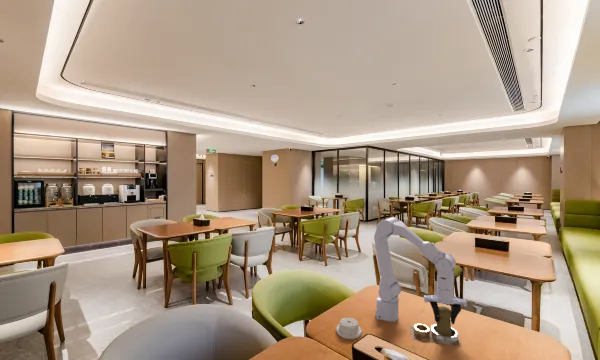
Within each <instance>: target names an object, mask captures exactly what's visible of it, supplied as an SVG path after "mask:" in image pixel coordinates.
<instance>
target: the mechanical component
mask: <svg viewBox="0 0 600 360" xmlns="http://www.w3.org/2000/svg"><path fill="white" fill-rule="evenodd" d="M335 331H336V334H337V335H338V336H339V337H341V338H343V339H345V340H347V339H348V340H355V339H358V338H360V337H361V335H362V334H363V333H362V327H361V326H359V322H358V320H357V319H355V318H353V317H348V316H347V317H343V318H340V320H339V323H338V324H337V325H336V330H335Z"/></svg>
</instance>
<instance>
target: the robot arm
mask: <svg viewBox="0 0 600 360" xmlns="http://www.w3.org/2000/svg"><path fill="white" fill-rule="evenodd" d="M375 227H376V229H375V233H374V236H373V238H374V245H375V250H376V256H377V261H378V267H379V273H380V280H379V283H378V286H379V289H378V296H379V297H376V306H375V307H376V308H375V309H376V310H375V315H376V320H382V321H386V322H392V323H393V322H397V321H398V320H399V300H400V299H399V295H400V294H401V291H402V288H401V285H400V284H399V282H398V278H397V277H396V276H395V274H394V268H393V263H392V259H391V258H392V257H391V252H390V247H389V242H388V239H390V238H391V236H401V237H403V238H404V239H405V240H407V241H408V242H409V243H410V244H413V245H414V246H415V247H416V248H417V249H418V252H419V253H420V254H421V255H422V256H424V258H426V259H427V260H428V261H430V262H431V263H432V264H433V265H434V267H435V269H436V271H437V272H436V273H437V275H436V294H432V295H428V294H427V295H425V294H424V295H423V301H424V303H429V304H430V306H431V309H432V312H433V314H434V315H433V316H434V322H435V323H437V322H438V308H439V307H440V306H439V304H444V305H450V310H451V312H452V316H451V318H450V322H451V325H455V322H456V320H457V316H459V314H460V312H461V311H462V307H461V306H463V307H468V304H467V303H468V301H467V300H466V299H464V298H458V297H454V293H455V292H454V290H455V289H454V288H455V284H454V283H455V276H454V275H455V272H454V271H455V270H454V269H455V267H456V265H457V264H456V263H457V261H456V259H455V257H454V256H453V255H452V254H450V253H446V251H442V250H441V249H440V248H438V247H437V246H436V244H435V243H434V242H433V241H432V242H430V241H427V240H426V241H424V240H423V239H422V238H421V237H420V236H418V235H417V233H415V232H414V231H413V230H411V229H410V228H409V227H408V226H407V225H406V224H405V223H404V222H403V221H402V220H400V219H398V218H397V217H395V216H392V217H391V216H390V217H389V218H386V219H382V220H380V221H379V222H378V223H377V224H376V226H375Z"/></svg>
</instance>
